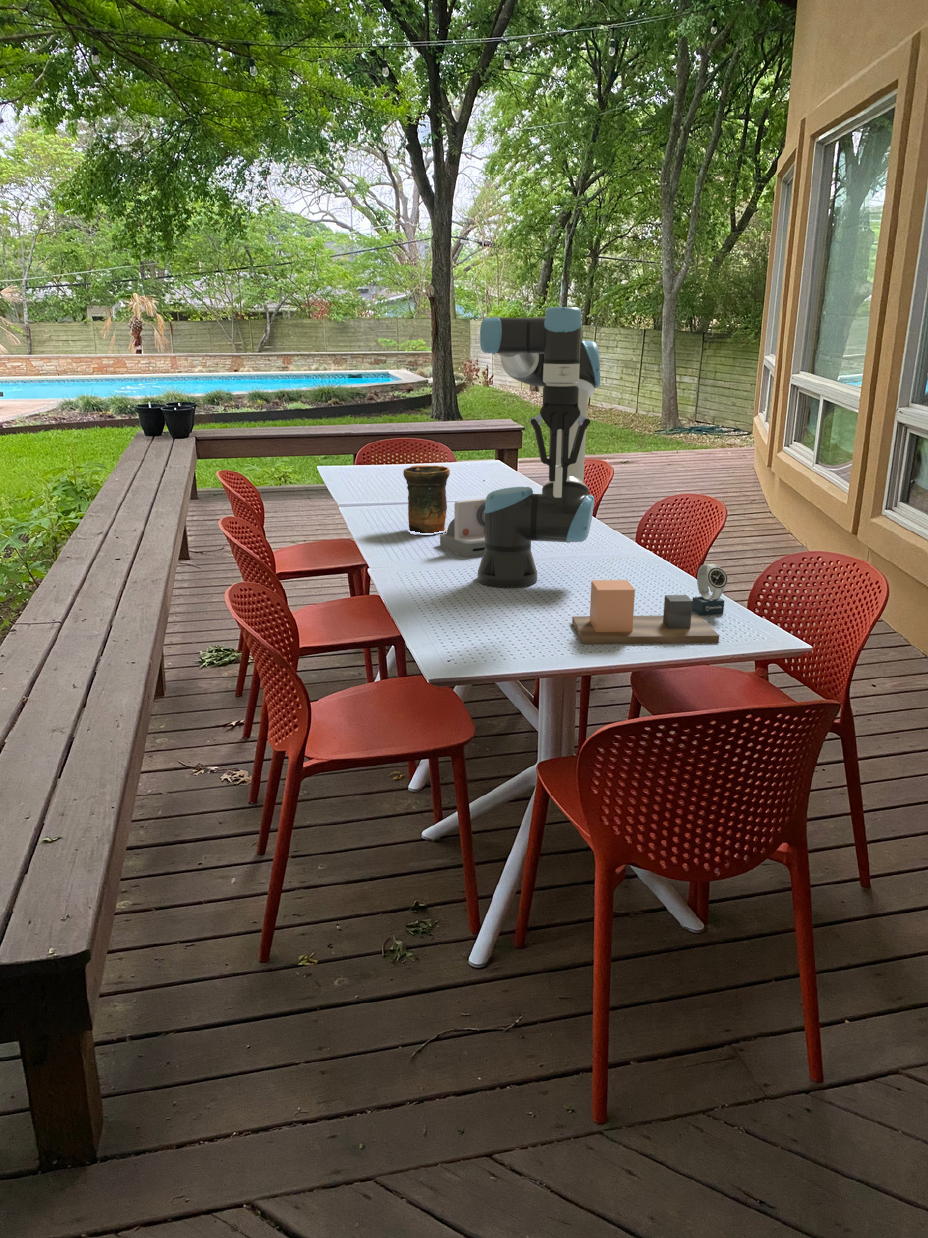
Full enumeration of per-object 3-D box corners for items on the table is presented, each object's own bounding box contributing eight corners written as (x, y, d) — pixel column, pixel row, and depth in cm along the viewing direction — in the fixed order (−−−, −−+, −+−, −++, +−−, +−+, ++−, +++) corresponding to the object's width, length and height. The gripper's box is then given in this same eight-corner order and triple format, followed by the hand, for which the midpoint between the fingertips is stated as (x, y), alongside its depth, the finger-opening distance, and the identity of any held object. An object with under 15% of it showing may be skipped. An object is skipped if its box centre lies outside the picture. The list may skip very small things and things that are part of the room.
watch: (706, 618, 205) (710, 570, 202) (687, 608, 212) (691, 561, 209) (728, 616, 206) (732, 568, 203) (709, 606, 214) (713, 559, 211)
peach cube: (589, 620, 198) (591, 580, 195) (624, 620, 198) (627, 579, 196) (595, 632, 191) (598, 590, 188) (632, 631, 191) (635, 589, 188)
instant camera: (457, 559, 257) (457, 506, 252) (435, 543, 275) (434, 493, 271) (528, 553, 264) (529, 501, 259) (501, 538, 282) (501, 489, 278)
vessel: (460, 532, 289) (458, 468, 283) (421, 539, 281) (419, 473, 275) (435, 524, 300) (433, 463, 294) (397, 531, 293) (394, 467, 286)
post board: (572, 623, 201) (573, 589, 199) (699, 621, 203) (701, 588, 200) (582, 644, 188) (584, 608, 186) (718, 642, 189) (721, 607, 187)
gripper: (532, 385, 190) (529, 499, 197) (595, 385, 190) (590, 499, 198) (528, 383, 197) (525, 493, 204) (588, 383, 198) (584, 493, 205)
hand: (557, 496), depth 201 cm, fingers closed
